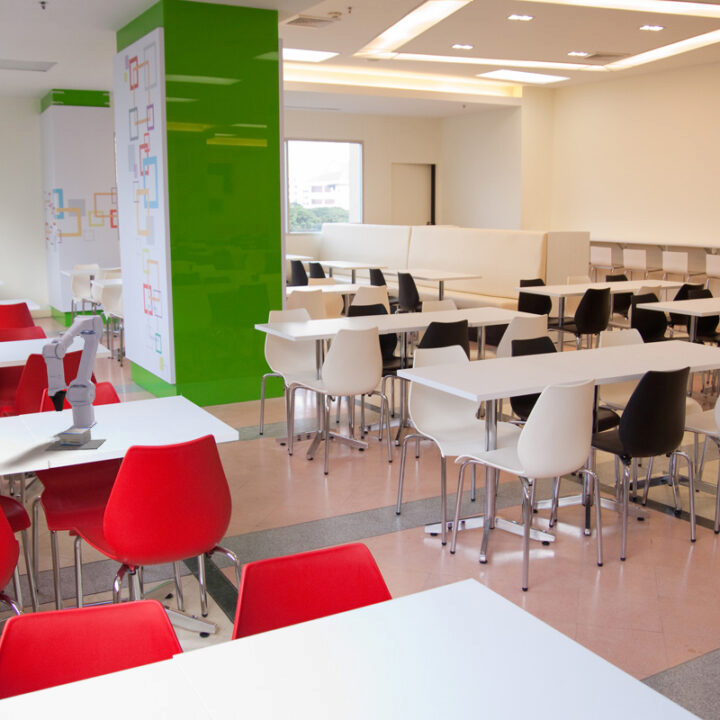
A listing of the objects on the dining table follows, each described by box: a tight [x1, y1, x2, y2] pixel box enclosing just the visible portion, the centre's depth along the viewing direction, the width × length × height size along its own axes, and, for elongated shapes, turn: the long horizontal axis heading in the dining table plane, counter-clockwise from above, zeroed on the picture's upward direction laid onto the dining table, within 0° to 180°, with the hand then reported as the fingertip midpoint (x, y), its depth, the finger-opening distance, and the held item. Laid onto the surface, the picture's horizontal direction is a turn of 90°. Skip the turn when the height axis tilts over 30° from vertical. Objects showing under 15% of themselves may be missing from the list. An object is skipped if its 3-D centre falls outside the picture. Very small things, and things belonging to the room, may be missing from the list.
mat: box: [44, 438, 107, 452], centre depth 297 cm, size 12×18×1 cm, turn 92°
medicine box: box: [59, 427, 92, 445], centre depth 299 cm, size 8×4×9 cm
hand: (59, 411), depth 310 cm, fingers closed
